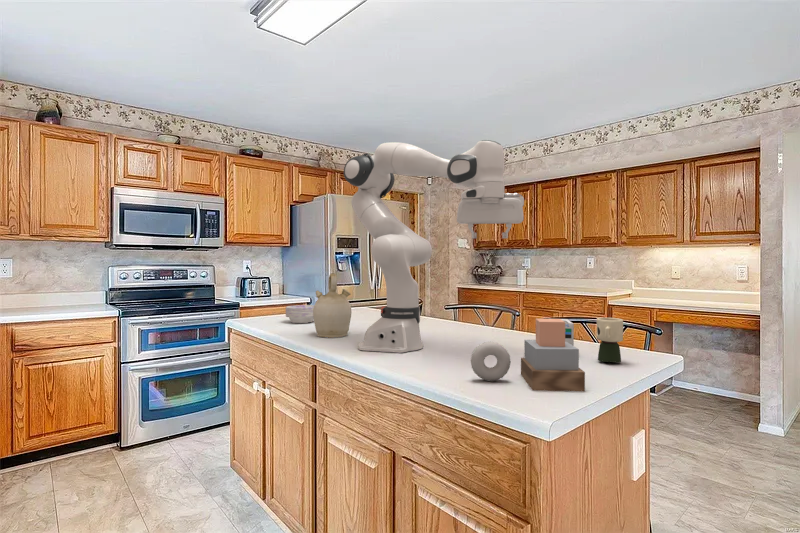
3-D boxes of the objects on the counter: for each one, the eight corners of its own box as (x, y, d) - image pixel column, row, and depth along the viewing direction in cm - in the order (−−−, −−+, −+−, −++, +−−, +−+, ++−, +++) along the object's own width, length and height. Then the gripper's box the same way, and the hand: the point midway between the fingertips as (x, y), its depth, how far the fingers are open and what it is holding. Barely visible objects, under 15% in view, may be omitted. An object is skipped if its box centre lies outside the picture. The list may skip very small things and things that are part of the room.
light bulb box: (574, 357, 140) (574, 323, 140) (551, 356, 141) (551, 322, 141) (568, 350, 151) (568, 318, 150) (547, 349, 152) (547, 318, 152)
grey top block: (535, 369, 107) (535, 348, 106) (524, 358, 119) (524, 339, 118) (578, 370, 106) (578, 349, 106) (562, 358, 118) (562, 339, 118)
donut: (471, 382, 112) (471, 342, 112) (469, 378, 115) (470, 340, 115) (511, 383, 111) (512, 343, 111) (509, 379, 115) (509, 340, 115)
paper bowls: (302, 319, 226) (302, 303, 226) (324, 321, 217) (324, 305, 217) (278, 322, 214) (278, 306, 214) (300, 325, 205) (300, 308, 205)
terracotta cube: (539, 346, 110) (539, 321, 110) (535, 341, 116) (535, 318, 116) (565, 346, 109) (565, 322, 109) (559, 342, 115) (559, 318, 115)
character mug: (599, 357, 140) (599, 316, 139) (624, 360, 136) (625, 317, 136) (593, 364, 131) (593, 320, 130) (620, 367, 127) (620, 322, 126)
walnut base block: (532, 392, 105) (532, 371, 105) (520, 376, 119) (520, 357, 119) (584, 393, 105) (584, 372, 104) (566, 377, 119) (567, 358, 118)
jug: (352, 331, 188) (352, 272, 187) (350, 338, 172) (349, 273, 172) (316, 332, 187) (315, 272, 187) (310, 338, 172) (309, 273, 171)
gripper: (522, 194, 140) (521, 238, 141) (456, 195, 142) (456, 238, 142) (526, 191, 134) (525, 237, 134) (457, 192, 136) (457, 238, 136)
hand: (489, 238), depth 138 cm, fingers open, 8 cm apart
